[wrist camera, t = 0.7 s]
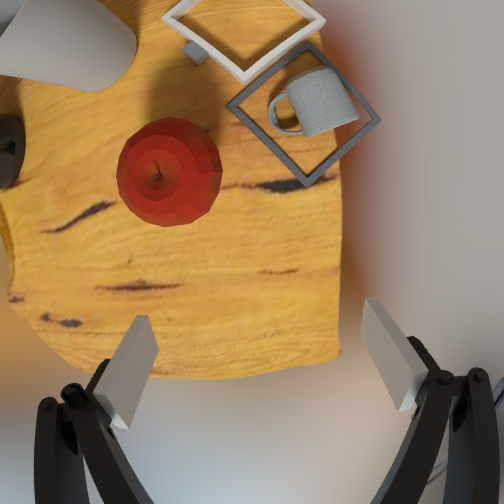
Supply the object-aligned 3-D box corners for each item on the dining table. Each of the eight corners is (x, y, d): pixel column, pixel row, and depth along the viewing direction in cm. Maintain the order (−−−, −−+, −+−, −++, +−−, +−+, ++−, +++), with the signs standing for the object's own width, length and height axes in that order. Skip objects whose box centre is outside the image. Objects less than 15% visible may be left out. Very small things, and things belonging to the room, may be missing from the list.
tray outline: (225, 107, 33) (225, 106, 33) (307, 41, 29) (307, 40, 29) (306, 187, 37) (306, 188, 37) (380, 120, 34) (381, 120, 33)
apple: (235, 201, 38) (228, 229, 25) (156, 217, 39) (115, 250, 26) (219, 116, 34) (202, 97, 21) (139, 137, 34) (88, 134, 21)
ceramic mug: (323, 72, 31) (338, 56, 24) (348, 121, 34) (369, 116, 27) (256, 99, 33) (257, 86, 26) (283, 149, 36) (291, 149, 29)
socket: (155, 32, 28) (150, 27, 26) (242, -31, 24) (242, -38, 21) (233, 95, 33) (232, 91, 30) (322, 26, 28) (326, 20, 26)
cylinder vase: (100, 107, 32) (-27, 91, 9) (62, 72, 29) (-47, 51, 6) (154, 45, 29) (63, -36, 6) (110, 15, 26) (22, -46, 2)
